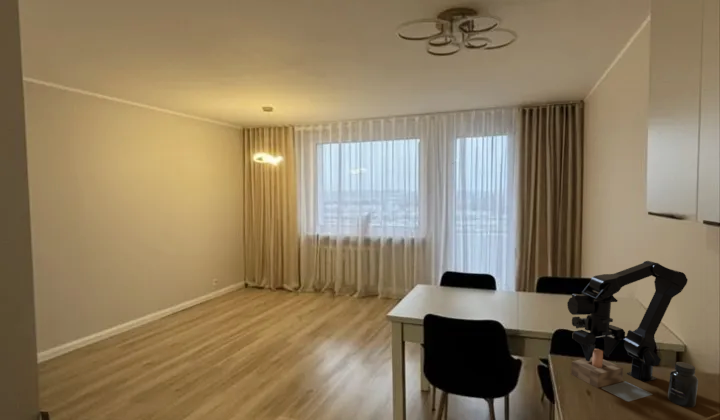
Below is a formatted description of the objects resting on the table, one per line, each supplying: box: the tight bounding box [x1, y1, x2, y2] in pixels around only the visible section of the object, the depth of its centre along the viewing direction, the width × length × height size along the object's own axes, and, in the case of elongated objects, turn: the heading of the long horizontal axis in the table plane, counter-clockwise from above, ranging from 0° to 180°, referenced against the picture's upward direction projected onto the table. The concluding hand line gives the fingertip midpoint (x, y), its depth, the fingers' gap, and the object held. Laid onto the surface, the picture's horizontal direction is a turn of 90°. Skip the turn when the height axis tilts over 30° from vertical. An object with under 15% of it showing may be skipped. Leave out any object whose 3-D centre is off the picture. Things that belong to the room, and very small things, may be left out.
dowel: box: [592, 348, 604, 368], centre depth 143 cm, size 3×3×10 cm
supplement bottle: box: [667, 361, 699, 408], centre depth 129 cm, size 7×7×12 cm
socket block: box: [570, 356, 624, 389], centre depth 144 cm, size 12×10×5 cm
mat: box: [601, 381, 653, 402], centre depth 135 cm, size 12×9×1 cm
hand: (597, 358), depth 143 cm, fingers open, 9 cm apart
